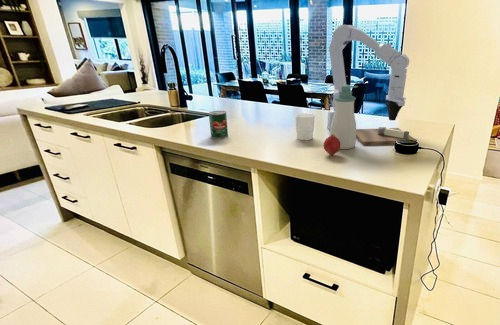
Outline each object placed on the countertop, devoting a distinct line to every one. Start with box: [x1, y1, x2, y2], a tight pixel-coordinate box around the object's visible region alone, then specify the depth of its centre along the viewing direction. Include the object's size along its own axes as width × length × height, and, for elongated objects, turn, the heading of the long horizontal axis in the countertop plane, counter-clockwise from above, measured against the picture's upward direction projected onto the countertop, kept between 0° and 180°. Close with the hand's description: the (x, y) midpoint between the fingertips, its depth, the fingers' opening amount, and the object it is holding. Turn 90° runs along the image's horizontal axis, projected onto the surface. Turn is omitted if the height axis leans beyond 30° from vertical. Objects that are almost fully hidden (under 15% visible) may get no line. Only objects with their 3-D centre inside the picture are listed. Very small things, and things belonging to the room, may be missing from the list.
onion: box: [323, 134, 341, 156], centre depth 106 cm, size 6×6×8 cm
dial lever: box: [377, 126, 410, 139], centre depth 119 cm, size 12×3×3 cm, turn 41°
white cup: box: [295, 112, 316, 141], centre depth 126 cm, size 8×8×10 cm
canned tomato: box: [208, 110, 229, 139], centre depth 135 cm, size 8×8×11 cm
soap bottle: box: [328, 84, 358, 150], centre depth 112 cm, size 10×10×23 cm
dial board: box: [356, 127, 418, 146], centre depth 123 cm, size 20×18×2 cm
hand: (392, 119), depth 125 cm, fingers closed
